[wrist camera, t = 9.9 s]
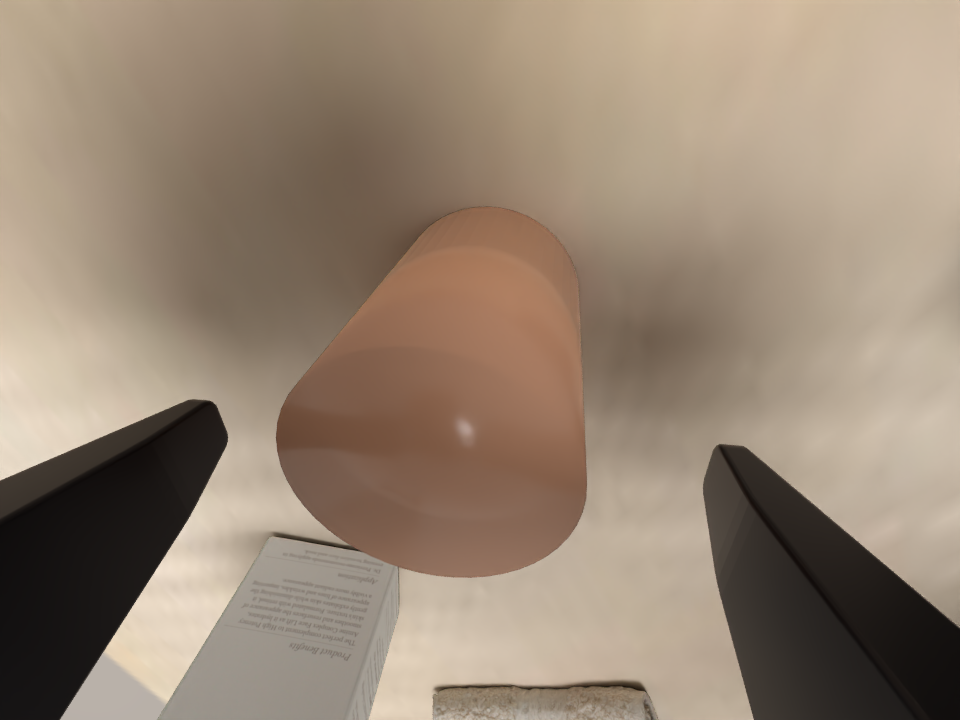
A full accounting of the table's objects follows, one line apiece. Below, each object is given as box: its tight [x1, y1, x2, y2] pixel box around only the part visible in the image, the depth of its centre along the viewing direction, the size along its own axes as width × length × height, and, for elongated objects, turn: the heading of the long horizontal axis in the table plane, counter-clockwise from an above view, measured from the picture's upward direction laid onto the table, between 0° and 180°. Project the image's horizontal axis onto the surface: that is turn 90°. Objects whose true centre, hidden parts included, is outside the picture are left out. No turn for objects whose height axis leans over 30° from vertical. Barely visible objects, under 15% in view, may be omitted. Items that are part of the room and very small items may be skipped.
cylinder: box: [276, 207, 587, 578], centre depth 11 cm, size 5×5×7 cm
